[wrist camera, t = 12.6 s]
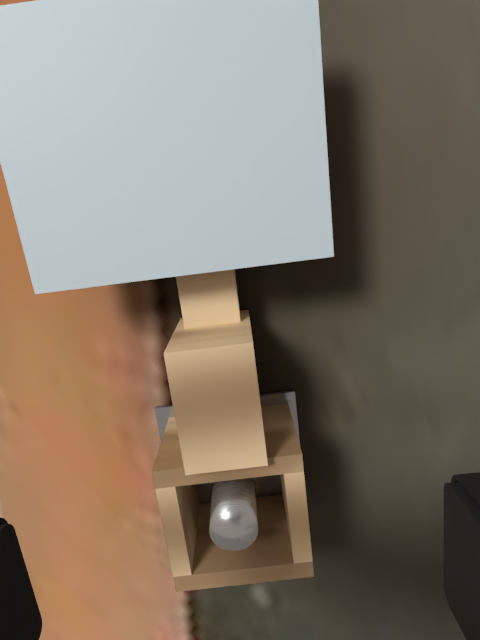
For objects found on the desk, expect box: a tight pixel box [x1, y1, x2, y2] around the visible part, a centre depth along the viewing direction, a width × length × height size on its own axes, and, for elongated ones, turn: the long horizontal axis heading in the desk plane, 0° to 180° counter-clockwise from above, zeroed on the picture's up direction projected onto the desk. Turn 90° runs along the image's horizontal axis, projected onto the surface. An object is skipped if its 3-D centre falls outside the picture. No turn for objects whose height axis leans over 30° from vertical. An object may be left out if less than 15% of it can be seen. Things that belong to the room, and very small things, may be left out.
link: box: [152, 269, 314, 592], centre depth 18 cm, size 18×6×5 cm, turn 7°
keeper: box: [0, 0, 334, 294], centre depth 16 cm, size 9×11×4 cm
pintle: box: [155, 390, 300, 551], centre depth 20 cm, size 7×7×5 cm
